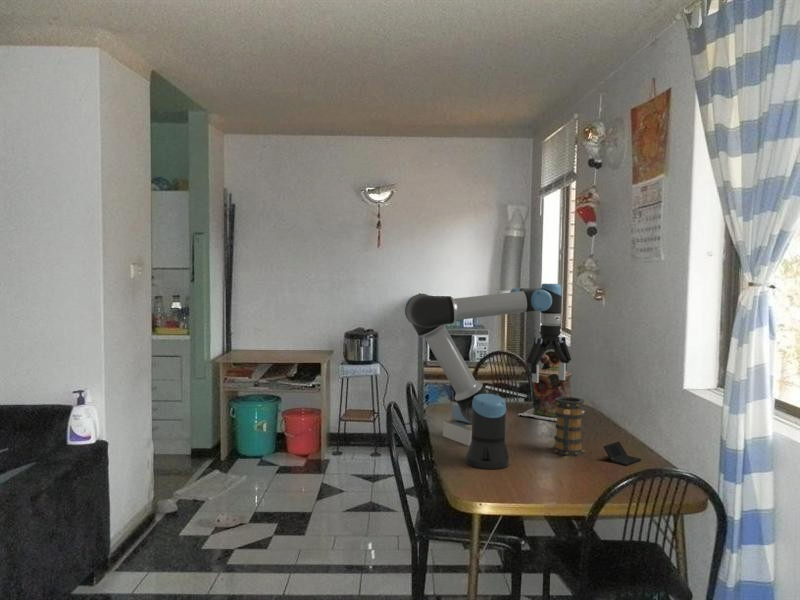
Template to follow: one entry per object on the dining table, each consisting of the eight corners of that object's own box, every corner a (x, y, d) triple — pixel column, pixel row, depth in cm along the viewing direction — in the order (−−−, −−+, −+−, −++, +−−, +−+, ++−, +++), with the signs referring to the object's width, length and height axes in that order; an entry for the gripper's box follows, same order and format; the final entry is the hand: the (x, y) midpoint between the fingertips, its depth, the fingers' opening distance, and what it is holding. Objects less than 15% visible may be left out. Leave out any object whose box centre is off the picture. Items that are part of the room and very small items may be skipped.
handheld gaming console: (632, 463, 230) (617, 437, 235) (615, 472, 234) (600, 447, 238) (643, 460, 239) (628, 436, 244) (626, 470, 243) (612, 445, 247)
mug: (586, 449, 253) (588, 397, 252) (583, 461, 237) (585, 406, 236) (552, 446, 257) (554, 395, 256) (546, 457, 241) (548, 403, 240)
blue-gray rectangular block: (481, 425, 258) (482, 409, 258) (451, 418, 269) (452, 404, 268) (489, 423, 262) (489, 408, 262) (459, 417, 272) (459, 402, 272)
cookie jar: (537, 408, 330) (539, 344, 329) (585, 415, 316) (588, 348, 314) (516, 416, 310) (518, 348, 309) (566, 424, 296) (568, 353, 294)
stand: (469, 446, 254) (470, 427, 254) (442, 436, 269) (443, 418, 269) (497, 442, 261) (498, 423, 261) (470, 432, 277) (470, 415, 276)
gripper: (532, 326, 238) (530, 384, 238) (581, 324, 250) (579, 380, 251) (518, 324, 244) (516, 381, 245) (567, 323, 257) (565, 377, 258)
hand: (548, 381), depth 248 cm, fingers open, 13 cm apart
